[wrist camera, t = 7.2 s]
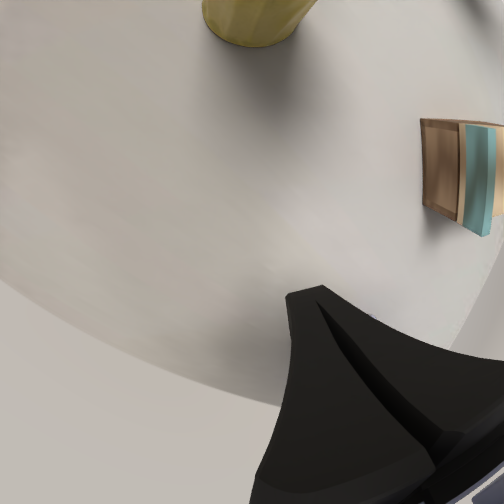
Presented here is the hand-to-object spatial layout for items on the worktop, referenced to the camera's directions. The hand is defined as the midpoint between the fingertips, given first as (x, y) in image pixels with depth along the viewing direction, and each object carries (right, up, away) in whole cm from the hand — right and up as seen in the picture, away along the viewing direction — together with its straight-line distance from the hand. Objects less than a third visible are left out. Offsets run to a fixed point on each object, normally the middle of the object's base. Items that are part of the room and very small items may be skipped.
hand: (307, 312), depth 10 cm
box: (+16, +10, +9) cm, 21 cm away
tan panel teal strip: (+16, +8, +6) cm, 19 cm away
